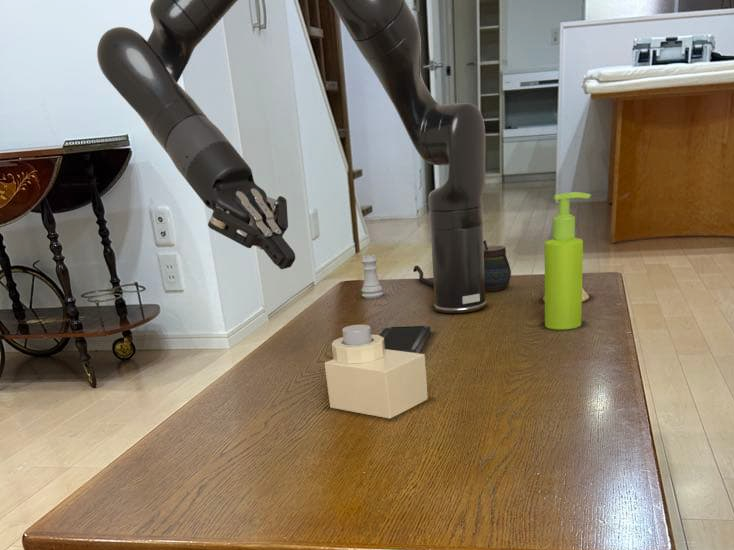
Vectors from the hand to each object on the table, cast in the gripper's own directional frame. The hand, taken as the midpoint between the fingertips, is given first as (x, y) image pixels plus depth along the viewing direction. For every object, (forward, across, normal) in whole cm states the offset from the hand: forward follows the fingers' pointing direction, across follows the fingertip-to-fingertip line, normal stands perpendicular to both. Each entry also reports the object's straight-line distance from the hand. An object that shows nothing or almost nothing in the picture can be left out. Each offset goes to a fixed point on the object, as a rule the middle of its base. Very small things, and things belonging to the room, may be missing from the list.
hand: (289, 263), depth 106 cm
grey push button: (+14, 0, -1) cm, 14 cm away
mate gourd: (+5, +64, +19) cm, 67 cm away
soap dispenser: (+24, +44, 0) cm, 50 cm away
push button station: (+21, 0, +3) cm, 21 cm away
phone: (+11, +24, +14) cm, 29 cm away
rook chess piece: (-10, +52, +34) cm, 62 cm away
